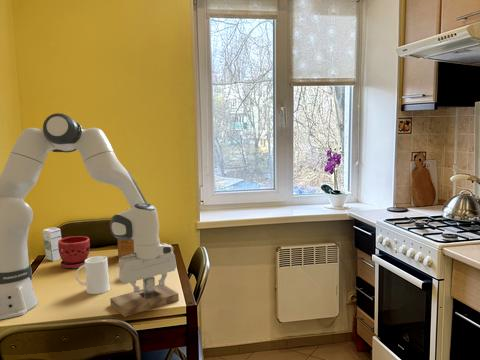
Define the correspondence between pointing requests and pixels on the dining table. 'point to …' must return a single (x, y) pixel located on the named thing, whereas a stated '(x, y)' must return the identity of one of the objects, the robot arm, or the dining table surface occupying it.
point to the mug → (96, 275)
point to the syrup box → (52, 243)
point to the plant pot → (74, 251)
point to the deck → (143, 300)
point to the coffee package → (125, 246)
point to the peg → (149, 287)
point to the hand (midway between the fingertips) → (149, 288)
